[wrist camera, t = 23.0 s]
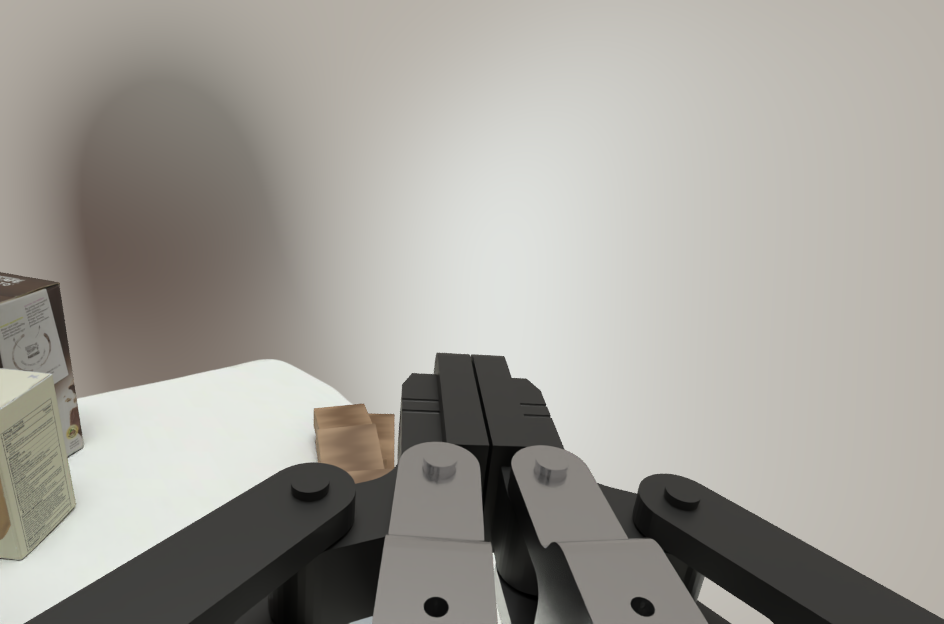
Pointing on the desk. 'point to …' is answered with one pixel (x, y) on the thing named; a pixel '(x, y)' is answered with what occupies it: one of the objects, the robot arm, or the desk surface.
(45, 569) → the desk surface
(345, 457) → the walnut domino
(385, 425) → the walnut domino
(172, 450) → the desk surface
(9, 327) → the coffee box
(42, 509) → the skincare box
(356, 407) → the walnut domino
